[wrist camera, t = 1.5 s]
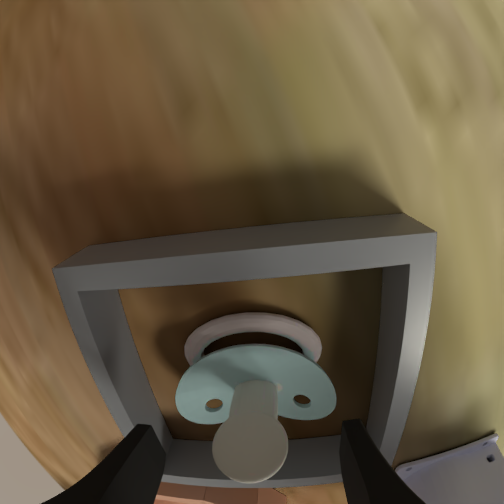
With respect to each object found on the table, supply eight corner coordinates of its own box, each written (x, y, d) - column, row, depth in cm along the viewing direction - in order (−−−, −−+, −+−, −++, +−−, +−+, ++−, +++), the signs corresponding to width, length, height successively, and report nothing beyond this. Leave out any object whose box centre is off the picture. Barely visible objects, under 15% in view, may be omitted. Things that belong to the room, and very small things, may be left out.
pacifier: (170, 310, 15) (196, 404, 16) (114, 396, 9) (167, 493, 10) (329, 298, 14) (329, 397, 15) (359, 391, 8) (344, 493, 9)
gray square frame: (404, 213, 12) (437, 232, 9) (378, 437, 16) (388, 473, 13) (88, 245, 13) (51, 268, 11) (163, 446, 18) (151, 480, 15)
